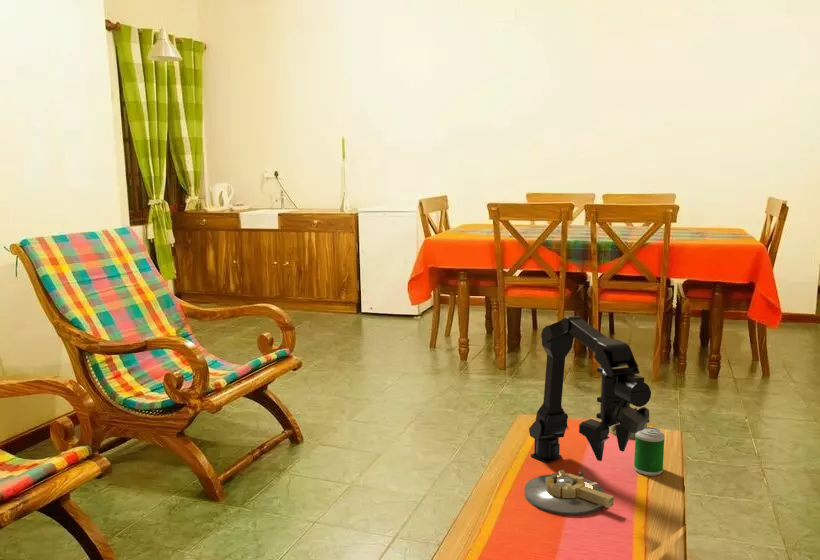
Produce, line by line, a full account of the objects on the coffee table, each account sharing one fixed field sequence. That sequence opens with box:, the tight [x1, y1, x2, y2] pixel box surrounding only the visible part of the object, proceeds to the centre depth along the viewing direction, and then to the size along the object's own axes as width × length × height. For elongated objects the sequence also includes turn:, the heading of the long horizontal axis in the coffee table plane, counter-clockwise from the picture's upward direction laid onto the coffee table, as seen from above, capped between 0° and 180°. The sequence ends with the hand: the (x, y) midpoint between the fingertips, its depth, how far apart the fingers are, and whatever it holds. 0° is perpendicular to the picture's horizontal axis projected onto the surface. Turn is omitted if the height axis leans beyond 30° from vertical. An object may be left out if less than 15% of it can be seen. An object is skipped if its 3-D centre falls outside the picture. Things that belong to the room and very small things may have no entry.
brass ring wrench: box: [545, 469, 615, 509], centre depth 175 cm, size 18×9×3 cm, turn 45°
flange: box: [524, 471, 606, 516], centre depth 178 cm, size 20×20×4 cm
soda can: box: [633, 426, 665, 477], centre depth 192 cm, size 8×8×12 cm
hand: (610, 455), depth 172 cm, fingers open, 9 cm apart
